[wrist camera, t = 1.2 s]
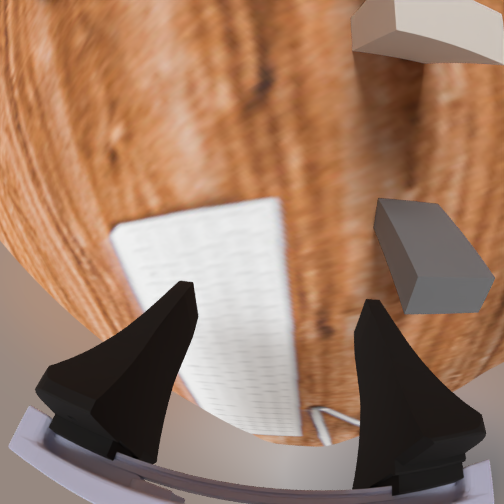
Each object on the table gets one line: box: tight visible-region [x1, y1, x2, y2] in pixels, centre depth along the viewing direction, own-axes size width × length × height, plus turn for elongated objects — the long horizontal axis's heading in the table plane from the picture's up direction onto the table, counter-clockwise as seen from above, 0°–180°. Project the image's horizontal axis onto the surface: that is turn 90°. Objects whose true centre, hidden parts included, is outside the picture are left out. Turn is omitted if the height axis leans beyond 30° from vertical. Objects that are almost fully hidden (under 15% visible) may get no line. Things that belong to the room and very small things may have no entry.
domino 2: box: [374, 198, 495, 314], centre depth 16 cm, size 2×5×9 cm, turn 92°
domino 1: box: [351, 0, 504, 65], centre depth 9 cm, size 2×5×9 cm, turn 92°
